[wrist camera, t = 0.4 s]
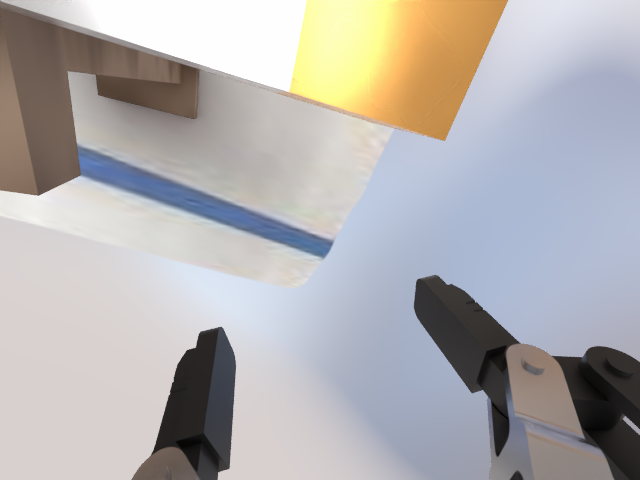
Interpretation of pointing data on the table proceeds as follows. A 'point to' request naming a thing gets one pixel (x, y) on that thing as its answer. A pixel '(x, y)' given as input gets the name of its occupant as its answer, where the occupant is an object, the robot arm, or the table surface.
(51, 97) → the tall stand
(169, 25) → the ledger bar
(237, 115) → the table surface
